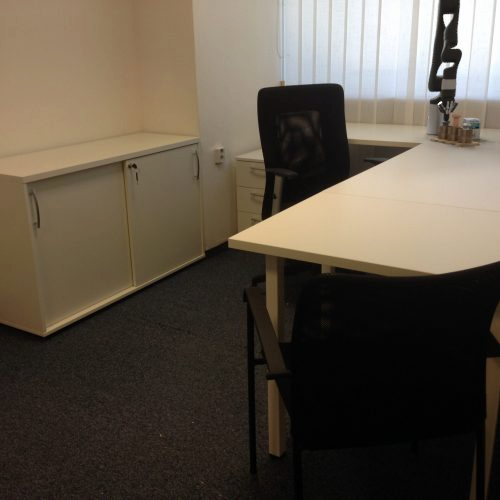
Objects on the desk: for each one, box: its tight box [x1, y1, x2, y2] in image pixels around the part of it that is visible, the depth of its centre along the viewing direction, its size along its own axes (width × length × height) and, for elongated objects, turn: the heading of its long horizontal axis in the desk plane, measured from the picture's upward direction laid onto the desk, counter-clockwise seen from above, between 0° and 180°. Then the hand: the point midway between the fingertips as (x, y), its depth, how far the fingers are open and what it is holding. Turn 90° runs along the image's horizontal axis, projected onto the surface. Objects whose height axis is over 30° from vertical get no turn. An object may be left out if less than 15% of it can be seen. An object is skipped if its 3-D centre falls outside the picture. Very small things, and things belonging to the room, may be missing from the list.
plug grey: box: [461, 123, 471, 130], centre depth 304 cm, size 4×4×9 cm
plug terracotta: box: [451, 113, 462, 128], centre depth 310 cm, size 4×4×9 cm
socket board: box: [429, 125, 481, 148], centre depth 312 cm, size 25×12×8 cm, turn 21°
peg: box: [442, 120, 451, 126], centre depth 319 cm, size 4×4×9 cm
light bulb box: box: [462, 117, 482, 141], centre depth 324 cm, size 11×7×11 cm, turn 179°
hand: (446, 120), depth 317 cm, fingers closed
